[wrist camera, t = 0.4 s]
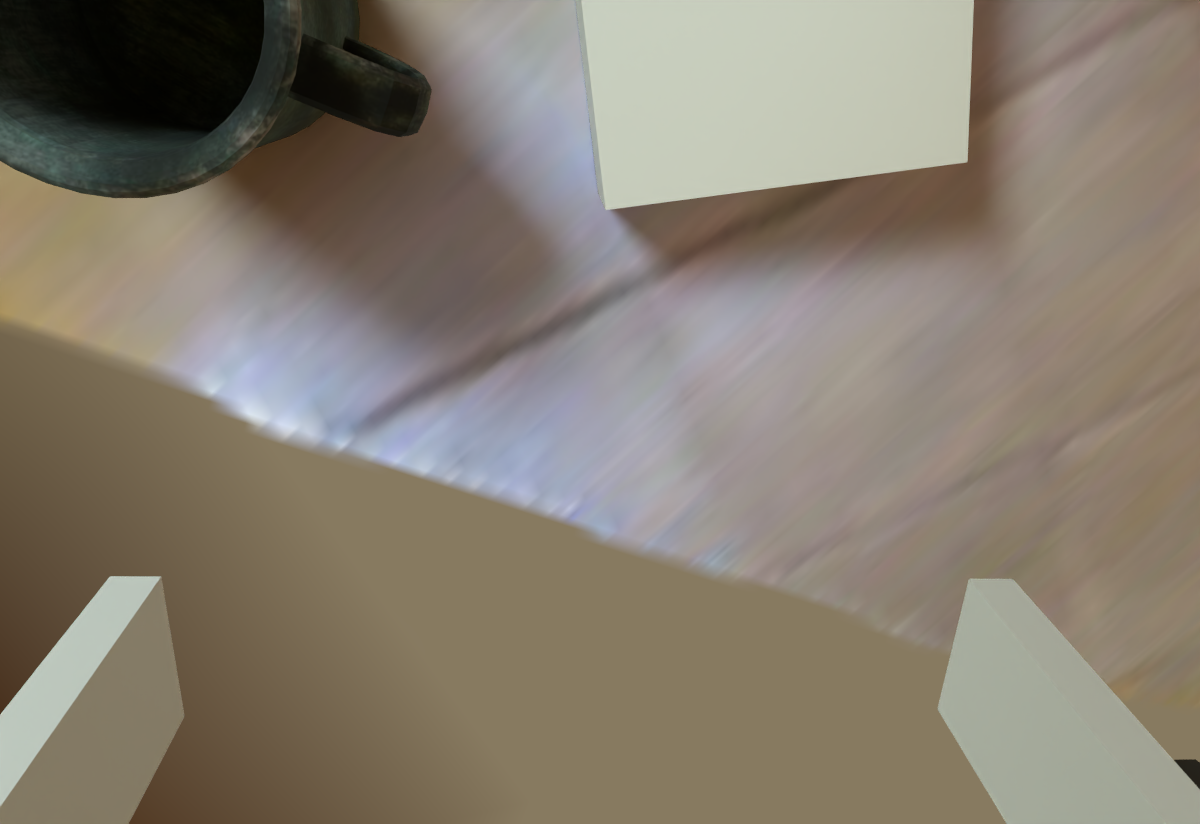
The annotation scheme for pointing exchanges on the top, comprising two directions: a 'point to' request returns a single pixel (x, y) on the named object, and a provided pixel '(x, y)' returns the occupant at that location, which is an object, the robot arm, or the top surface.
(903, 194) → the top surface
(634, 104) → the socket
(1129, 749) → the robot arm
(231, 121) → the mug
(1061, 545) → the top surface
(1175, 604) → the top surface
